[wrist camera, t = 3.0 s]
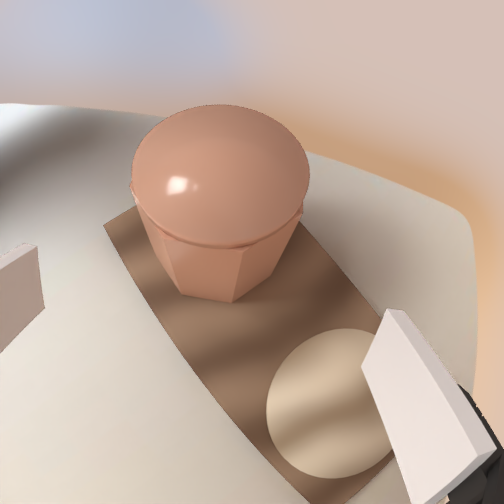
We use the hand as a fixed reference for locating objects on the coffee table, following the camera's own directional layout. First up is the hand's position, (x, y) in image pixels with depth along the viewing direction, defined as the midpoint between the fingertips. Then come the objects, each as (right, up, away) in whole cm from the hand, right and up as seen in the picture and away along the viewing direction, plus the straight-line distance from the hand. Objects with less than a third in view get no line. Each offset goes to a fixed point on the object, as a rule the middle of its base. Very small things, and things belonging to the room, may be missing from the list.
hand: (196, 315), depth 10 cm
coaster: (+9, -9, +10) cm, 16 cm away
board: (+4, -4, +13) cm, 14 cm away
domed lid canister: (-1, +3, +14) cm, 14 cm away
